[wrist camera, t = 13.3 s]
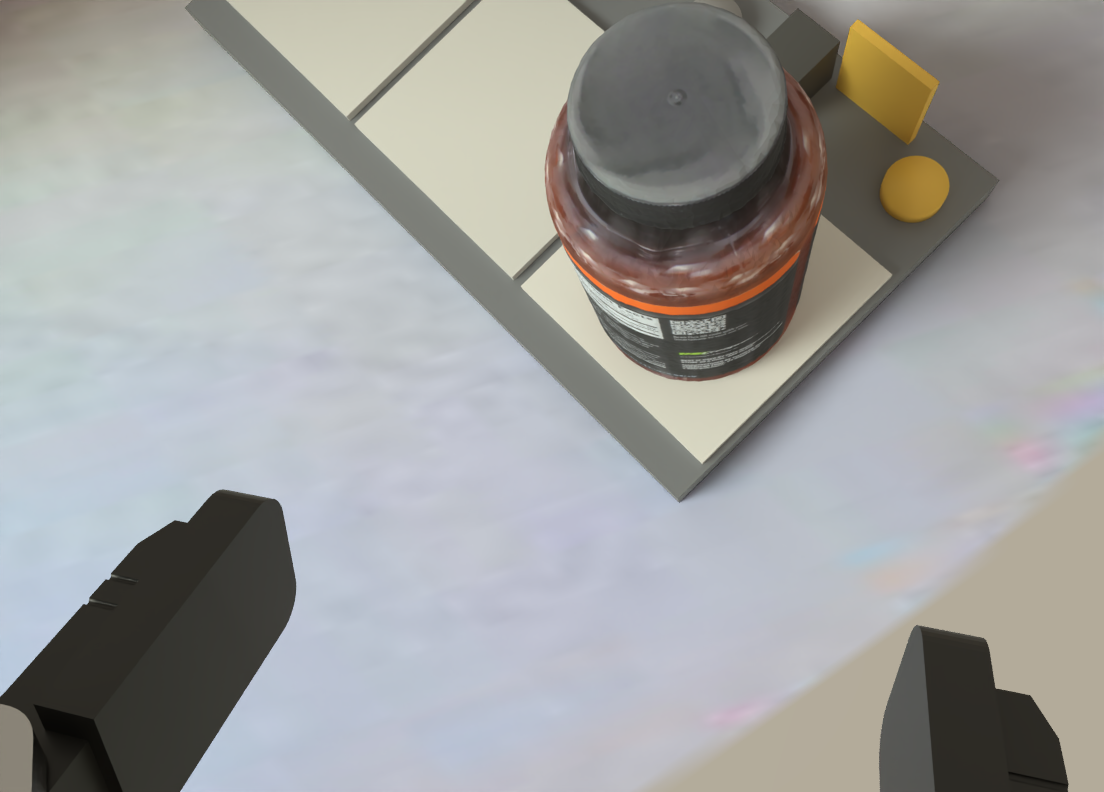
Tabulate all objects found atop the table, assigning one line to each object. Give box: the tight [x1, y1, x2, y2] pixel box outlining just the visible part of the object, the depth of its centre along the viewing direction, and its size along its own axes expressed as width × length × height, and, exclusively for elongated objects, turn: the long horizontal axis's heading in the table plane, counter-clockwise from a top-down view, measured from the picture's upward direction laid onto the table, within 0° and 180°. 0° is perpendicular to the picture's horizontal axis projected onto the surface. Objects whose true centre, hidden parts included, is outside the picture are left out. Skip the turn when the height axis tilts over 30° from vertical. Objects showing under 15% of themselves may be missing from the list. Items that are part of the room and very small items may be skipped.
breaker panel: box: [185, 0, 999, 502], centre depth 29 cm, size 24×13×4 cm, turn 45°
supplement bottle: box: [545, 2, 828, 382], centre depth 23 cm, size 6×6×11 cm
